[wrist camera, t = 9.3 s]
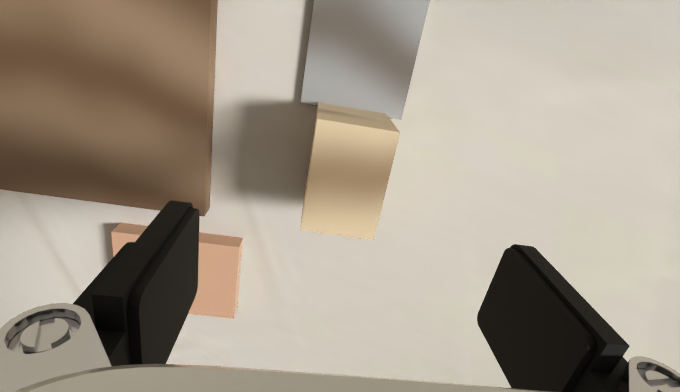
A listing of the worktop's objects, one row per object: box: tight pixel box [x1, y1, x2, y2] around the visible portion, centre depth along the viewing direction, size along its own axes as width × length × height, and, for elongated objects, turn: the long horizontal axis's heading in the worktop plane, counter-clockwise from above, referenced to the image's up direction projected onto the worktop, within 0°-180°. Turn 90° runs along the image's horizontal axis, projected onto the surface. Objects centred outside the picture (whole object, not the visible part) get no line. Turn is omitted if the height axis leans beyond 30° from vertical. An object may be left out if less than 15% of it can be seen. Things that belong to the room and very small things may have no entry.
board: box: [0, 0, 217, 216], centre depth 20 cm, size 14×12×1 cm
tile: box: [111, 223, 243, 318], centre depth 26 cm, size 6×2×8 cm
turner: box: [300, 0, 430, 240], centre depth 20 cm, size 13×6×5 cm, turn 170°
